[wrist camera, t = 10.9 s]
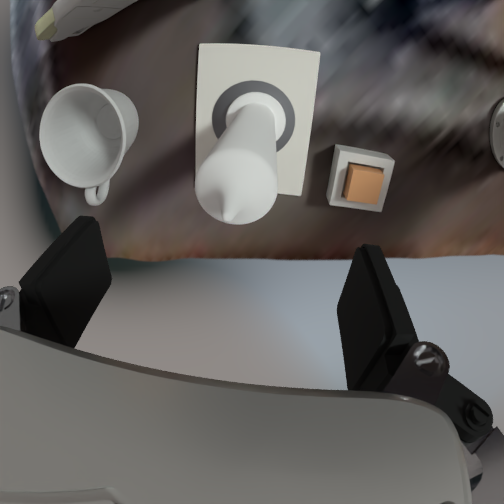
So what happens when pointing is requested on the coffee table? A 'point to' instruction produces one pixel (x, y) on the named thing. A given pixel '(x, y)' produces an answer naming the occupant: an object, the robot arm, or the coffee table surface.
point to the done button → (363, 184)
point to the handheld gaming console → (76, 17)
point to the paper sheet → (265, 81)
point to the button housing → (340, 170)
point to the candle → (243, 162)
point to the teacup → (87, 136)
